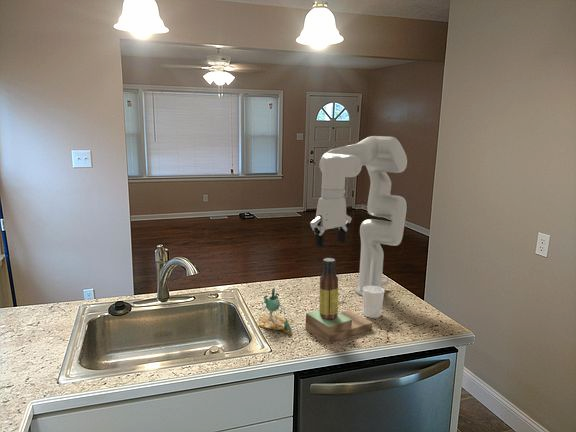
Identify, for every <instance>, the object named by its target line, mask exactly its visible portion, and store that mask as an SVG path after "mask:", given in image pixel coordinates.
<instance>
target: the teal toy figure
mask: <svg viewBox="0 0 576 432" xmlns="http://www.w3.org/2000/svg"><path fill="white" fill-rule="evenodd" d="M275 292H276V289H275V288H274V287H273V288H272V289H271V295H270V296H269V297H268V295H265V296H264V297H263V301H264V302H261V306H262V308H261V307H260V308H259V311H265V310H266V309H267V310H268V311H269V313H270V314H269V315H260V317H259V318H258V325H259V326H260V327H262V328H264V329H271V330H277V331H278V330H281V331H282V333H285V334H288V335H291V336H292V335H293V331H292V327H291V325H290V323H289V320H288V318H286V319H285V318H284V317H281V316H280V315H279V316H278V315H273V312H276V311H278V310H279V308H281V309H280V311H279V314H282V310H283V309H285V306H284V305H282V304H281V302H280V300H279V297H280V293H275ZM264 303H265V306H264ZM263 308H264V309H263ZM283 315H286V312H285V311H283Z"/></svg>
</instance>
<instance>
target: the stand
mask: <svg viewBox="0 0 576 432" xmlns="http://www.w3.org/2000/svg"><path fill="white" fill-rule="evenodd" d="M373 323H374V322H373V321H371V320H368V319H366V318H365V317H364V316H361V315H360V314H357V313H355V312H353V311H351V310H345V311H342V312H339V311H338V315H337V317H336V318H334V319H325V318H322V317H321V316H320V308H318V309H316V310H313V311H308V312H306V313H305V326H304V327H305V331H307V332H309V333H310V334H312V335H314V336H315V337H316V338H318V339H320V340H321V341H323V342H324V343H326V344H327V345H328V344H332V343H335V342H338V341H341V340H344V339H347V338H350V337H353V336H356V335H359V334H363V333H365V332H368V331H371V330H373Z"/></svg>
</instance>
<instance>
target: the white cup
mask: <svg viewBox="0 0 576 432" xmlns="http://www.w3.org/2000/svg"><path fill="white" fill-rule="evenodd" d="M384 290H385V289H384V288H381V287H378V286H365V287H363V295H362V314H363V316H364V317H367V318H370V319H378V318H379V317H381V316H382V310H383V309H382V308H383V304H384V296H385V293H384Z"/></svg>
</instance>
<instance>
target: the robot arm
mask: <svg viewBox="0 0 576 432" xmlns="http://www.w3.org/2000/svg"><path fill="white" fill-rule="evenodd" d="M407 164H408V157H407V154H406V152H405V150H404V148H403V145H402V143H400V141H399V140H398V138H396V137H395V136H387V135H386V136H384V135H383V136H381V135H378V136H377V135H371V136H367V137H366V138H364V139H361V140H360V141H359V142H356V143H354V144H349V145H345V146H340V147H336V148H331V149H330V150H328V151H326V152H325V153H323V154H322V156H321V158H320V160H319V165H318V166H319V169H320V172H321V174H322V175H321V193H320V194H321V195H320V197H319V198H318V202H317V206H316V213H315V218H314V219H313V220H312V221H311V222H309V224H310V227H311V230H312V231H313V233H314V234H315V246H317V247H319V248H324V240H325V239H324V237H325V236H324V235H323V234H324V233H325V231H326V230H329V229H330V230H331V229H338V231H337V242H338V243H341V244H346V236H347V235H346V234H347V232H348V228H349V227H350V226H351V225H350V224H351V222H352V220H353V219H352V217H351V216H350V215H348V214H347V201H346V197H345V194H346V191H347V190H346V189H345V188H346V178H355V177H358V175H359V174H360V172H361V171H362V169H363V168H362V167H364V166H365V167H366V169H367V173H368V176H369V180H370V185H369V192H368V199H367V208H366V209H367V214H369V215H371V216H374V217H377V218H378V217H379V218H385V219H386V218H387V219H391V221H387V220H383V219H374V218H369V219H365V220H363V221H362V222H361V224H360V226H359V236H360V259H359V276H358V285H356V286H355V287H354V291H355V293H356V294H358V295H360V296H363V287H365V286H378V287H381V288H383V287H385V286H388V285H389V284H390V283H389V281H388V280H383V271H384V269H383V268H384V257H385V256H384V250H383V248H382V245H386V246H387V245H388V246H396V247H397V246H399V245H400V244H401V243H402V240H403V237H404V229H405V223H406V217H407V216H406V215H407V209H408V208H407V207H408V206H407V201H406V199H405V198H404V197H403V196H401V195H395V194H394V195H393V194H391V191H392V181H391V178H390V177H389V175H388V173H394V174H395V173H397V174H399V173H403V172H405V170H406V169H407V166H408V165H407ZM381 244H382V245H381ZM383 289H384V288H383ZM385 293H386V292H385V289H384V294H385Z"/></svg>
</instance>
